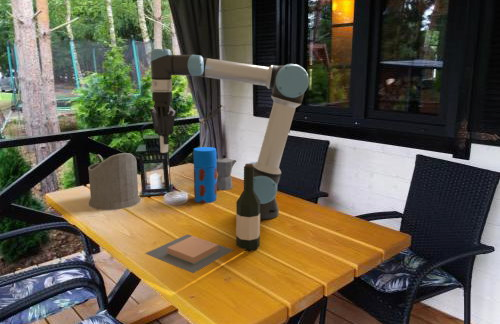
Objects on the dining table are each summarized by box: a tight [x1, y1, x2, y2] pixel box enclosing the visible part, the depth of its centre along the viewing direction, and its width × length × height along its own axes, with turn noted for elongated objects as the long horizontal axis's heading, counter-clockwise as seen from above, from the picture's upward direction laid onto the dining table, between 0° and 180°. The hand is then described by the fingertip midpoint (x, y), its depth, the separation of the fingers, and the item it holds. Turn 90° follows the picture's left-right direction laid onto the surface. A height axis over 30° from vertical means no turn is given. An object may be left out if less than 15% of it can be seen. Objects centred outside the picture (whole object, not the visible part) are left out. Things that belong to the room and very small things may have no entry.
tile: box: [167, 235, 219, 264], centre depth 132 cm, size 2×12×12 cm
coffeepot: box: [216, 154, 237, 191], centre depth 208 cm, size 15×9×18 cm, turn 103°
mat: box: [144, 234, 234, 274], centre depth 133 cm, size 22×20×1 cm
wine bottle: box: [235, 162, 261, 252], centre depth 136 cm, size 8×8×30 cm
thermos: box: [193, 146, 218, 204], centre depth 187 cm, size 11×11×25 cm
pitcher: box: [88, 152, 142, 211], centre depth 185 cm, size 23×32×25 cm
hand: (164, 152), depth 154 cm, fingers closed
